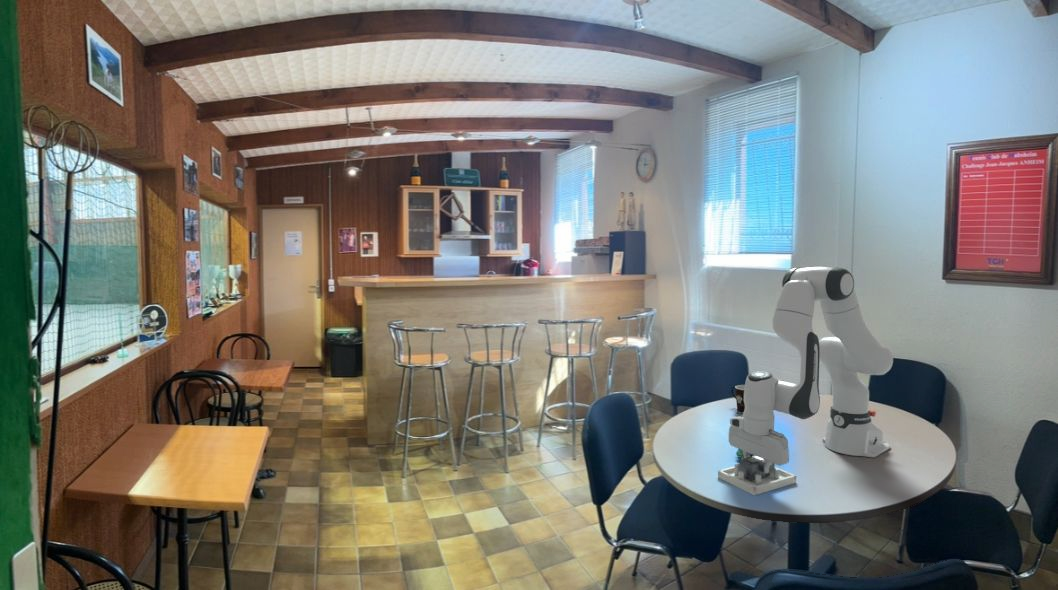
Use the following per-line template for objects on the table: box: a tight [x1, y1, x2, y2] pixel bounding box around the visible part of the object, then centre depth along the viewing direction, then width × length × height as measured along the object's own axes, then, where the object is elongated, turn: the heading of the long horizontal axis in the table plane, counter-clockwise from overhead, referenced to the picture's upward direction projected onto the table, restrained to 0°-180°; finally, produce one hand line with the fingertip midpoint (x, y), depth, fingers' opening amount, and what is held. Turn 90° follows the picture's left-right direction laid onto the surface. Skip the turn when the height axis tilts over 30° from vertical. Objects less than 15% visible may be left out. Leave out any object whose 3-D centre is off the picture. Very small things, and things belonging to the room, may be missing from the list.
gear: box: [736, 449, 755, 459], centre depth 189 cm, size 11×6×10 cm
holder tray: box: [717, 463, 797, 496], centre depth 174 cm, size 18×14×4 cm
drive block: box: [739, 455, 776, 481], centre depth 174 cm, size 10×4×5 cm, turn 117°
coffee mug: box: [730, 384, 745, 413], centre depth 245 cm, size 12×9×10 cm
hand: (757, 468), depth 174 cm, fingers open, 5 cm apart
